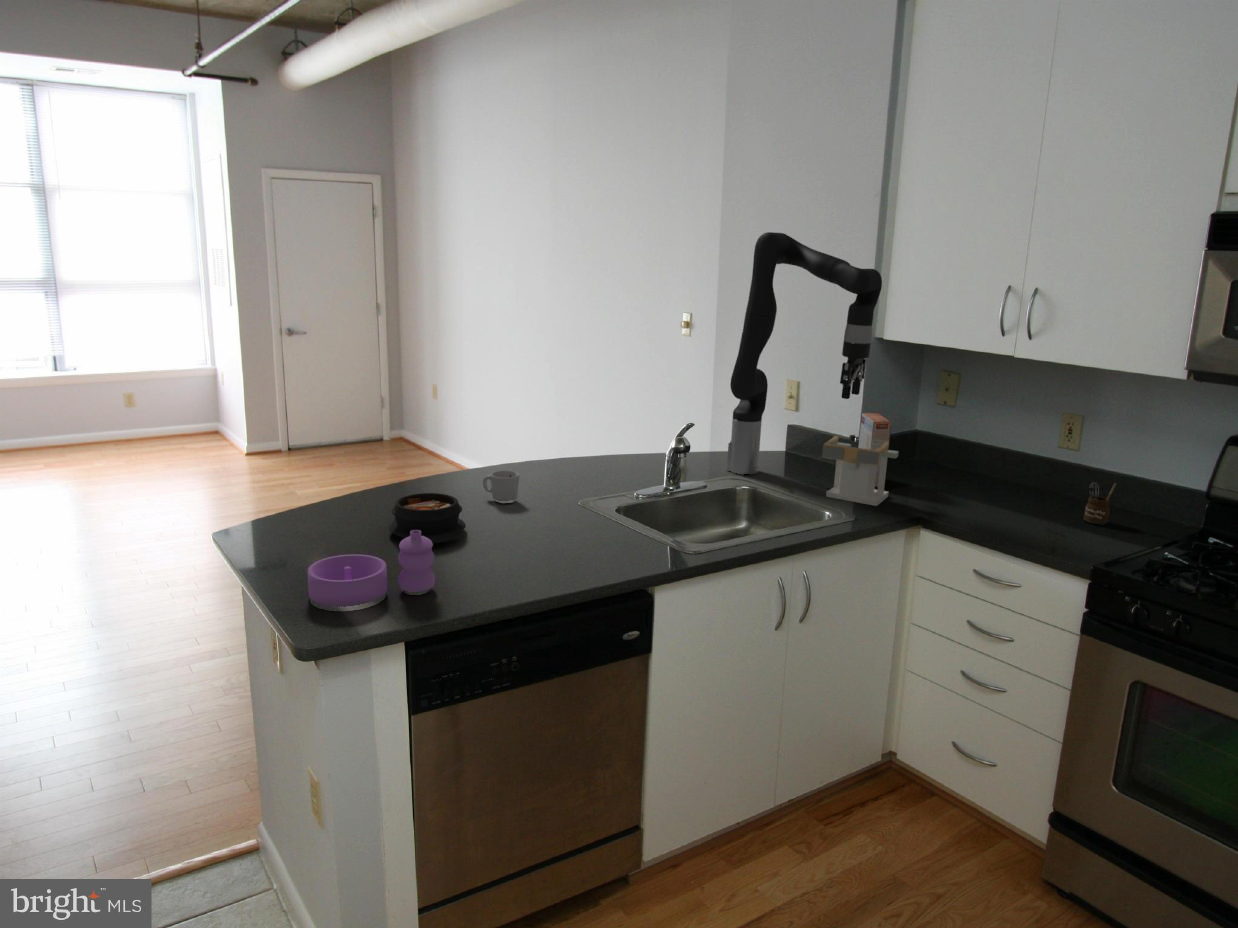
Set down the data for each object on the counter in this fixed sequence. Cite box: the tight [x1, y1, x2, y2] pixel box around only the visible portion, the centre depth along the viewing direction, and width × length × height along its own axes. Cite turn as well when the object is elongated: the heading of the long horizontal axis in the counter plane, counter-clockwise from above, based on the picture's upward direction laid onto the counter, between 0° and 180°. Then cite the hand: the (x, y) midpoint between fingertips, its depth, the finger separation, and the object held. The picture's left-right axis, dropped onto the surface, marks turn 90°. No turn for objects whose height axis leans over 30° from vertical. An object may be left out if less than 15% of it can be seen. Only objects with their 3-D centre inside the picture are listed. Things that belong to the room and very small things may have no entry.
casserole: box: [388, 492, 467, 544], centre depth 220 cm, size 25×19×8 cm
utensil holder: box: [1083, 482, 1117, 524], centre depth 246 cm, size 6×6×12 cm
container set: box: [307, 530, 436, 607], centre depth 182 cm, size 25×15×13 cm, turn 107°
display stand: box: [825, 441, 900, 507], centre depth 261 cm, size 20×15×15 cm
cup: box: [482, 470, 521, 501], centre depth 248 cm, size 11×8×8 cm
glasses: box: [821, 435, 890, 466], centre depth 261 cm, size 16×14×4 cm
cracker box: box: [857, 412, 892, 488], centre depth 279 cm, size 14×6×21 cm, turn 179°
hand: (850, 396), depth 258 cm, fingers open, 8 cm apart
